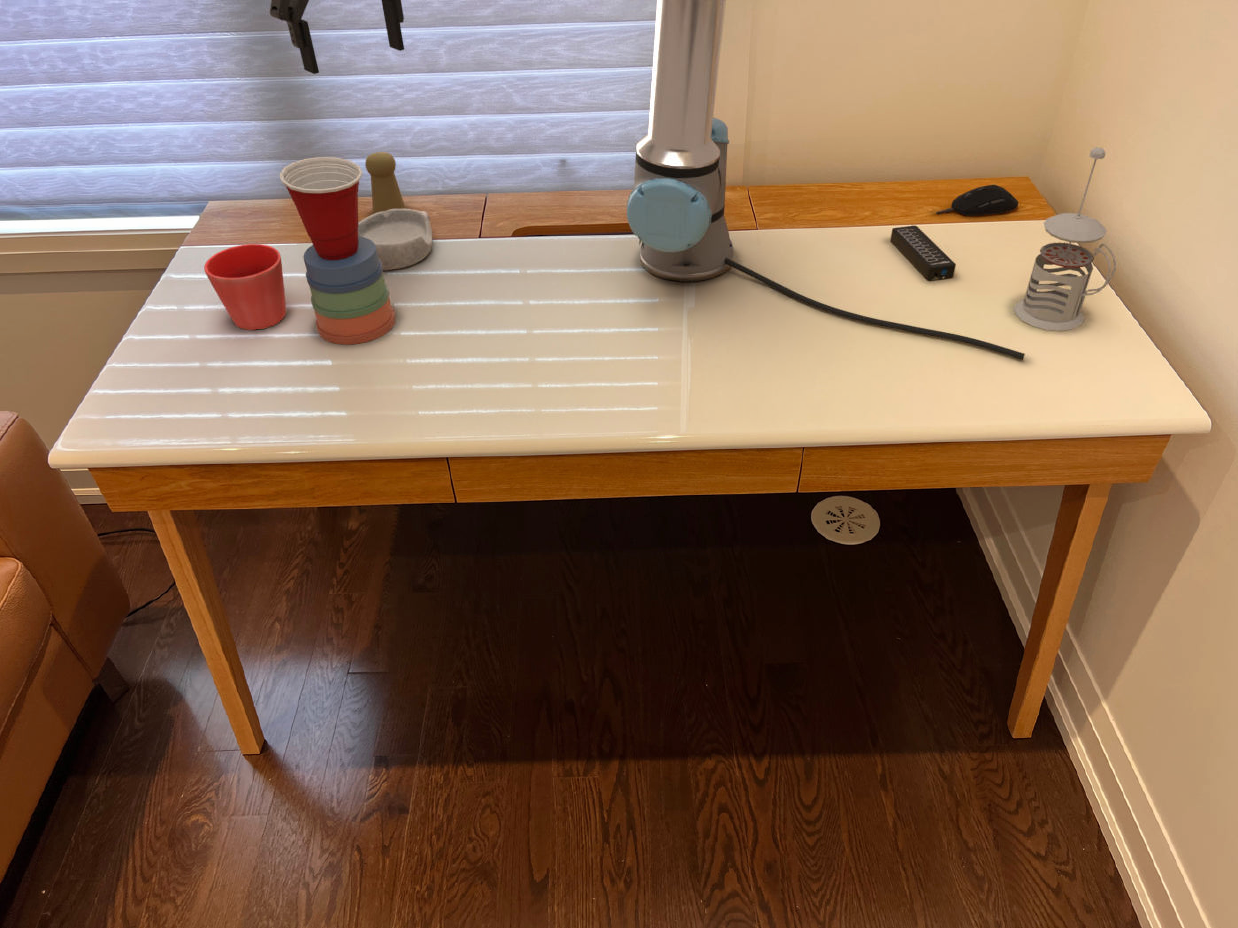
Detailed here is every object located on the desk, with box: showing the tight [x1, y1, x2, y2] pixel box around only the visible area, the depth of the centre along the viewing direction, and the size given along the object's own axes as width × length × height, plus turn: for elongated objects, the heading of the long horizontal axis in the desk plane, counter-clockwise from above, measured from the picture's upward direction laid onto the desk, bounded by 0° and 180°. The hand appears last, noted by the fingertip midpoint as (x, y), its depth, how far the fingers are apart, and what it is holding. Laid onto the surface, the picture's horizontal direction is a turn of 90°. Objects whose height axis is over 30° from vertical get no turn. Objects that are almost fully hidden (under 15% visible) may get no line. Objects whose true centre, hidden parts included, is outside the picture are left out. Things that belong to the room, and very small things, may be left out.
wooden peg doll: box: [364, 151, 407, 214], centre depth 169 cm, size 6×6×11 cm
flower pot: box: [203, 243, 287, 331], centre depth 142 cm, size 11×11×10 cm
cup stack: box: [303, 236, 397, 345], centre depth 139 cm, size 12×12×12 cm
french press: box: [1013, 146, 1117, 332], centre depth 132 cm, size 10×12×25 cm
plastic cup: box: [279, 156, 363, 260], centre depth 132 cm, size 11×11×12 cm
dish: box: [358, 208, 433, 271], centre depth 159 cm, size 14×14×5 cm
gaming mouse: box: [936, 184, 1019, 217], centre depth 166 cm, size 6×15×4 cm, turn 101°
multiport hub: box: [890, 225, 957, 282], centre depth 154 cm, size 4×14×2 cm, turn 12°
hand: (355, 60), depth 132 cm, fingers open, 13 cm apart
